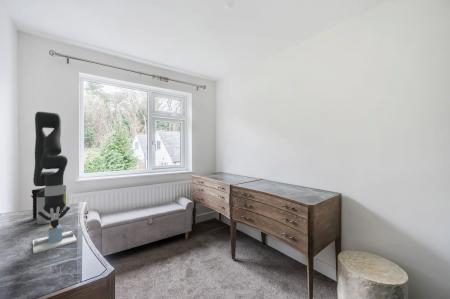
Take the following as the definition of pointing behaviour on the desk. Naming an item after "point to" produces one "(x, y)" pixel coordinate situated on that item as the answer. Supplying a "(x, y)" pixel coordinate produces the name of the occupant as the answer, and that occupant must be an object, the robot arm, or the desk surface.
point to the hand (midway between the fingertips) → (54, 226)
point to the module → (55, 234)
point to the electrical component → (36, 200)
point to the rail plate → (44, 244)
